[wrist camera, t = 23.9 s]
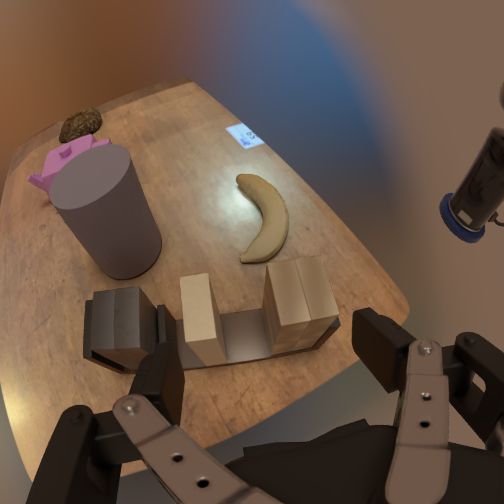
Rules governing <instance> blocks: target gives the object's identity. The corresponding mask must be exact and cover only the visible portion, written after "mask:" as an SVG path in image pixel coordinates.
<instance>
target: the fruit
mask: <svg viewBox="0 0 504 504" xmlns="http://www.w3.org/2000/svg"><path fill="white" fill-rule="evenodd" d="M236 182H237V184H238V185H239V186H240V187H241V189H242V190H243V191H244V192H245V193H246V194H248V195H249V196H250V197H251V198H252V199H253V200H254V201H255V202H256V203H257V204H258V205H259V207H260V209H261V211H262V214H263V225H262V228H261V230H260V232H259V234H258V235H257V237H256V238H255V239H254V241H253V242H252V243H251V244H250V246H249V247H248V249H247V250H246V251H245V252H244V253H243V254H241V255H240V259H241V261H242V263H246V262H262V261H266V260H268V259H269V258H271V257H272V256H273V255H274V254H275V253H276V252H277V251H278V250H279V249H280V248H281V246H282V244H283V242H284V240H285V238H286V235H287V232H288V226H289V214H288V210H287V207H286V205H285V202H284V200H283V198H282V197H281V195H280V194H279V192H278V191H277V190H276V189H275V188H274V187H273V186H272V185H271V184H270V183H268V182H267V181H266V180H264V179H262V178H261V177H259V176H257V175H252V174H239V175H238V176H237V177H236Z"/></svg>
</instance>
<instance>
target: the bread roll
mask: <svg viewBox="0 0 504 504" xmlns="http://www.w3.org/2000/svg"><path fill="white" fill-rule="evenodd" d="M101 121H102V119H101V115H100V113H99V112H98V110H96V109H94V108H92V109H84V110H81V111H78V112H77V113H75V114H74V115H71V116H70V117H69V118H68V119H67V120H66V121H65V122H64V124H63V126H62V129H61V133H60V136H59V141H60V142H62V143H65V142H70V141H73V140H75V139H77V138H80V137H83V136H86V135H89V134H92V133H94V132H95V131H96V130H97V129H98V127H99V125H100V123H101Z"/></svg>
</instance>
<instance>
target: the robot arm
mask: <svg viewBox="0 0 504 504" xmlns="http://www.w3.org/2000/svg"><path fill="white" fill-rule="evenodd" d="M499 102H500V105H501V107H502V108H503V110H504V80H503V82H502V84H501V87H500V91H499ZM503 201H504V129H503V128H500V127H493V128H492V129H491V131H490V133H489V134H488V136H487V138H486V140H485V142H484V144H483V146H482V148H481V149H480V151H479V153H478V155H477V157H476V158H475V160H474V162H473V164H472V165H471V167H470V169H469V170H468V172H467V174H466V175H465V177H464V179H463V180H462V181H461V183H460V185H459V186H458V188H457V189H456V191H455V192H454V194H453V195H452V196H451V198H450V199H449V201H448V209H449V212H450V214H451V216H452V217H453V219H454V220H455V221H456V223H457V224H458V225H459V226H460V227H462V228H463V229H464V230H466V231H468V232H470V233H478V232H479V231H480V230H481V229H482V227H483V226H484V224H485V223H486V222H487V221H488V222H493V221H494V222H495V223H496V224H497V225H499V226H504V223H500V222H498V221H497V220H496V217H497V216H498V214H497V212H496V210H497V208H498V207H499V206H500V205H501V203H502V202H503ZM352 346H353V349H354V352H355V353H356V354H357V356H358V357H359V358H360V359H361V360H362V362H363V363H364V364H365V365H366V367H367V368H368V369H369V370H370V372H371V373H372V374H373V375H374V376H375V378H376V379H377V380H378V381H379V383H380V384H381V385H382V386H383V388H384V389H385V390H386V391H387V392H388V393H391V392H394V391H396V390H399V391H400V394H399V398H398V403H397V408H396V413H395V419H394V423H393V426H390V425H371V426H369V424H368V423H367V421H366V420H365V419H361V420H359V421H356V422H353V423H349V424H346V425H343V426H340V427H337V428H335V429H333V430H331V431H329V432H327V433H326V434H324V435H321V436H319V437H317V438H316V439H313V440H311V441H307V442H285V443H284V442H278V443H276V442H275V443H269V444H263V445H257V446H251V447H244V448H243V451H244V456H243V457H240V458H237V459H235V460H233V461H231V462H229V463H227V464H225V465H224V466H223V465H222V464H221V463H220V462H219V461H217V460H216V459H215V458H214V457H213V456H211V455H210V454H209V453H208V452H207V451H205V450H204V449H203V448H202V447H201V446H200V445H199V444H198V443H197V442H196V441H194V440H193V439H192V438H191V437H190V436H189V435H188V434H187V433H186V432H185V431H184V430H183V429H182V428H181V427H180V420H181V410H182V402H183V393H184V385H185V377H184V371H183V368H182V364H181V361H180V357H179V354H178V350H177V347H176V344H175V342H174V341H170V342H159V343H157V344H156V347H155V350H154V353H153V354H147V355H146V356H145V357H144V358H143V359H142V360H141V362H140V364H139V367H138V370H137V372H136V376H135V377H134V380H133V383H132V386H131V388H130V391H129V394H128V395H126V396H123V397H121V398H120V399H118V400H117V401H116V402H115V403H114V405H113V408H112V411H108V412H103V413H98V414H93V412H92V410H91V409H90V408H89V407H88V406H85V405H75V406H72V407H69V408H68V409H66V410H65V411H64V412H63V413H62V415H61V417H60V419H59V421H58V423H57V425H56V427H55V430H54V432H53V434H52V436H51V439H50V441H49V443H48V446H47V448H46V450H45V453H44V455H43V458H42V460H41V463H40V465H39V468H38V470H37V473H36V476H35V478H34V481H33V484H32V487H31V489H30V492H29V495H28V498H27V501H26V504H116V500H117V493H118V486H119V479H120V473H121V467H122V463H127V462H132V461H136V460H142V461H143V462H144V464H145V465H146V466H147V468H148V469H149V470H150V471H151V473H152V474H153V475H154V476H155V478H156V479H157V480H158V481H159V483H160V484H161V485H162V486H163V487H164V489H165V490H166V491H167V492H168V493H169V495H170V496H171V497H172V498H173V499H174V500H175V502H176V503H177V504H504V353H503V352H502V351H501V350H499V349H498V348H497V347H495V346H494V345H493V344H491V343H490V342H489V341H487V340H486V339H484V338H483V337H482V336H480V335H479V334H476V333H473V332H463V333H460V334H459V335H458V336H457V337H456V341H455V345H452V346H446V347H441V346H440V345H439V344H438V343H437V342H435V341H433V340H430V339H419V340H417V339H416V338H414V337H413V336H412V335H411V334H409V333H408V332H407V331H406V330H404V329H403V328H402V327H401V326H400V325H398V324H397V323H396V322H395V321H393V320H392V319H391V318H389V317H386V316H383V315H379V314H377V313H376V312H375V311H374V310H373V309H371V308H370V307H368V308H364V309H360V310H356V311H354V312H353V320H352ZM475 373H476V374H478V375H479V376H480V377H481V378H482V379H483V380H484V382H485V385H486V390H485V393H484V392H483V391H482V390H481V389H480V388H479V387H478V386H477V385H476V384H474V383H473V382H472V380H473V378H474V375H475ZM449 402H450V404H451V405H452V406H453V407H454V408H455V409H456V410H457V412H458V413H459V414H460V415H461V416H462V417H463V419H465V421H466V422H467V423H468V424H469V425H470V427H471V428H472V429H473V430H474V432H475V433H476V434H477V435H478V436H479V438H480V439H481V440H482V441H483V442H484V443H485V449H486V450H483V449H478V448H473V447H469V446H464V445H460V444H456V443H452V442H448V433H449Z"/></svg>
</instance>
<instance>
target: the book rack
mask: <svg viewBox="0 0 504 504" xmlns="http://www.w3.org/2000/svg"><path fill="white" fill-rule="evenodd" d="M338 315H339V311H338V308H337V304H336V301H335V298H334V295H333V291H332V288H331V285H330V282H329V279H328V276H327V273H326V270H325V266H324V263H323V260H322V257H321V255H317V256H310V257H304V258H297V259H295V260H294V259H291V260H284V261H277V262H270V263H267V268H266V277H265V287H264V296H263V306H262V308H261V309H255V310H248V311H242V312H235V313H228V314H221V315H220V318H221V325H222V331H223V338H224V344H225V350H226V356H227V362H228V363H226V364H219V365H211V366H206V365H205V364H204V363H203V362H202V360H201V359H200V358H199V357H198V356H197V355H196V354H195V352H194V351H193V350H192V349H191V348H190V347H189V345H188V344H187V343H186V342H185V333H184V323H183V319H182V320H175V319H174V317H173V316H172V315H171V313H170V312H169V310H168V309H167V308H166V306H165V305H157V309H156V308H155V306H154V305H153V304H152V303H151V301H150V300H149V299H148V297H147V296H146V295H145V293H144V292H143V291H142V289H141V288H140V287H139V286H138V287H130V288H122V289H116V290H106V291H98V292H94V295H93V300H86V303H85V317H84V337H83V358H85V359H87V360H89V361H91V362H94V363H96V364H98V365H101V366H103V367H105V368H108V369H110V370H112V371H115V372H117V373H120V374H135V373H136V372H137V370H138V367H139V364H140V362H141V360H142V359H143V358H144V357H145V356H146V355H147V354H153V353H154V350H155V347H156V344H157V343H159V342H170V341H174V342H175V344H176V347H177V350H178V354H179V357H180V361H181V364H182V368H183V370H192V369H201V368H210V367H218V366H226V365H233V364H240V363H247V362H253V361H259V360H265V359H270V358H276V357H281V356H286V355H292V354H296V353H301V352H306V351H311V350H315V349H319V348H320V347H321V346H322V345H323V344H324V343H325V341H326V340H327V339H328V338H329V337H330V336H331V335H332V334H333V333H334V332H335V331H336V330H337V329H338V328H339V327H340V321H339V318H338Z"/></svg>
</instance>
